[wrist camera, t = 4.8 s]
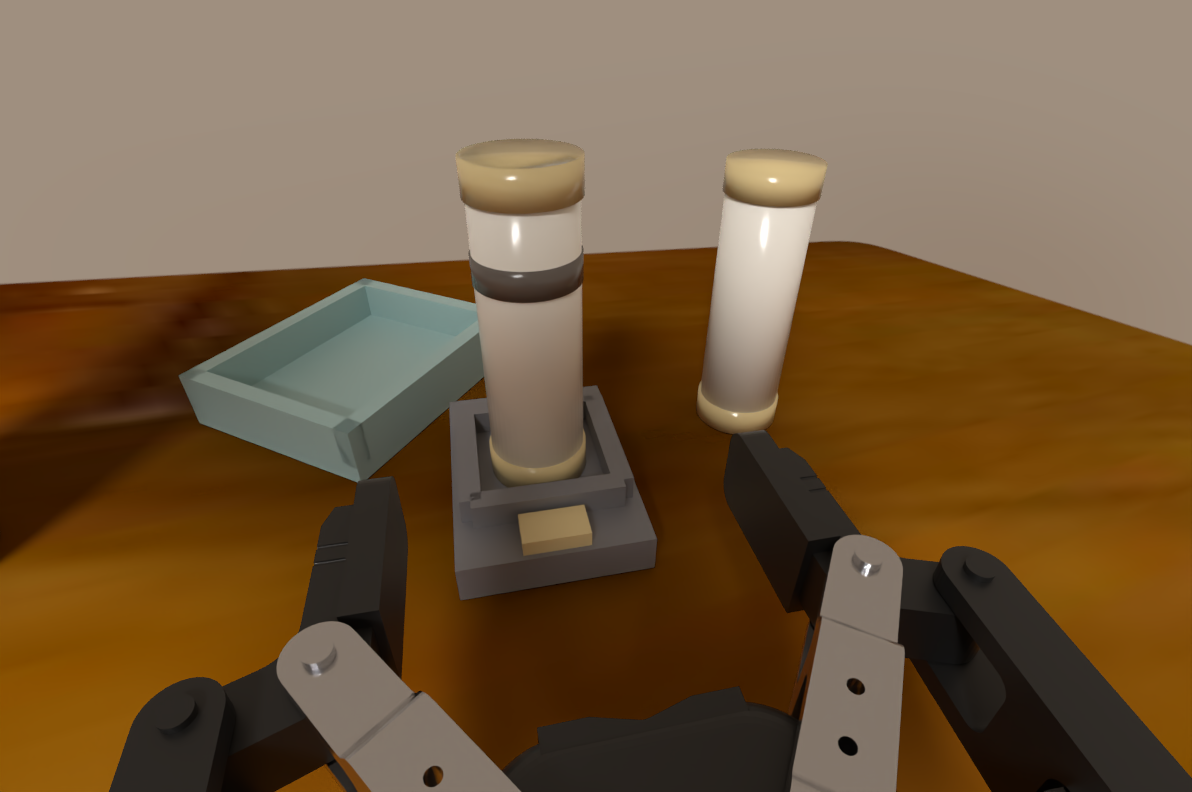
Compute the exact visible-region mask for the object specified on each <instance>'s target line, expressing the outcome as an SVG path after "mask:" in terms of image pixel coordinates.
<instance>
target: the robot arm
mask: <svg viewBox="0 0 1192 792" xmlns="http://www.w3.org/2000/svg"><path fill="white" fill-rule="evenodd" d="M724 492H725V497H726V500H727V503H728V505H729V507H730V509H731V511H732V513H733V515H734V516H735V518H736V520H737V522H738V524H739V526H740V527H741V529H742V531H743V533H744V535H745V537H746V539H747V540H748V542H749V544H750V546H751V548H752V550H753V551H754V553H755V555H756V557H757V559H758V561H759V563H760V564H761V566H762V568H763V570H764V572H765V574H766V575H767V577H768V579H769V581H770V583H771V585H772V587H773V588H774V590H775V592H776V594H777V596H778V598H779V599H780V601H781V603H782V605H783V607H784V609H785V611H786V612H787V613H790V612H795V611H801V610H805V612H806V614H807V615H808V617H809V622H808V625H807V629H806V633H805V638H804V643H803V647H802V652H801V656H800V661H799V666H798V670H797V675H796V679H795V684H794V689H793V693H792V697H791V701H790V705H789V708H788V712H787V713H784V712H782V711H780V710H778V709H775V708H772V707H769V706H766V705H762V704H756V703H751V702H745V700H744V697H743V695H742V692H741V690H740V688H739V686H737V687H733V688H728V689H723V690H718V691H713V692H708V693H703V694H699V695H694V696H690V697H689V698H687V699H685V700H683V701H681V702H679V703H677V704H675V705H673V706H671V707H669V708H667V709H666V710H664V711H662V712H660V713H658V714H656V715H654V716H652V717H650V718H648V719H644V720H632V719H615V718H598V717H587V718H582V719H577V720H572V721H567V722H562V723H557V724H553V725H548V726H543V727H538V728H537V731H538V743H539V744H537V745H535V746H533V747H531V748H529V749H528V750H526V751H525V752H523V753H522V754H520V755H519V756H517V757H516V758H515V759H514V760H513V761H511V762H510V763H509V764H508V765H507V766H506V767H505V768H504V769H503V770H502V771H501V770H500V769H499V768H498V767H497V766H496V765H495V764H494V763H493V762H492V761H491V760H490V759H489V758H488V757H487V756H486V754H485V753H484V752H483V751H482V750H481V749H480V748H479V747H478V746H477V745H476V744H475V743H474V742H473V741H472V740H471V739H470V738H469V737H468V736H467V735H466V734H465V733H464V732H463V731H462V729H461V728H460V727H459V726H458V725H457V724H456V723H455V722H454V721H453V720H452V719H451V718H450V717H449V716H448V715H447V714H446V713H445V712H444V711H443V710H442V709H441V708H440V707H439V706H438V705H437V703H436V702H435V701H434V700H433V699H432V698H430V697H429V696H428V695H427V694H426V693H424V692H422V691H419V692H417V693H414V692H413V691H412V690H410V689H409V688H408V687H407V686H406V684H405V683H404V682H403V681H402V680H401V676H402V656H403V636H404V616H405V596H406V576H407V556H408V542H407V531H406V525H405V520H404V516H403V512H402V508H401V503H400V499H399V495H398V491H397V486H396V482H395V479H394V477H393V476H391V477H383V478H375V479H367V480H360V481H358V483H357V487H356V493H355V500H354V505H349V506H341V507H335V508H334V509H333V511H332V512H331V514H330V515H329V516H328V518H327V519H326V520H325V522H324V523H323V525H322V526H321V530H320V535H319V540H318V544H317V548H318V549H317V550H316V554H315V559H314V566H313V569H312V573H311V578H310V583H309V588H308V593H307V598H306V602H305V607H304V612H303V617H302V622H301V626H300V629H299V632H298V634H297V635H295V636H294V637H293V638H292V639H291V640H290V641H289V642H288V643H287V644H286V646H285V647H284V648H283V650H282V652H281V653H280V656H279V658H277V659H276V660H275V661H274V662H272V663H270V664H269V665H267V666H266V667H264V668H262V669H260V670H258V671H256V672H253V673H251V674H249V675H247V676H245V677H242V678H240V679H238V680H236V681H233V682H231V683H229V684H227V685H225V686H221V685H220V684H219V683H218V682H217V681H215V680H213V679H210V678H205V677H195V678H189V679H186V680H182V681H179V682H177V683H175V684H172V685H171V686H169V687H167V688H165V689H164V690H162V691H161V692H159V693H158V694H157V695H155V696H154V697H153V698H152V699H151V700H150V701H149V702H148V703H147V704H146V705H145V706H144V707H143V708H142V709H141V711H140V712H139V713H138V715H137V716H136V718H135V720H134V721H133V724H132V726H131V728H130V731H129V734H128V737H127V740H126V743H125V746H124V749H123V752H122V755H121V758H120V761H119V764H118V767H117V770H116V773H115V776H114V779H113V782H112V784H111V787H110V790H109V792H275V791H276V790H278V789H280V788H282V787H284V786H286V785H288V784H290V783H291V782H293V781H295V780H297V779H299V778H301V777H303V776H305V775H306V774H308V773H310V772H312V771H314V770H316V769H318V768H319V767H321V766H323V765H324V766H325V768H326V769H327V770H328V772H329V773H330V774H331V776H332V777H333V778H334V780H335V781H336V782H337V784H338V785H339V786H340V788H341V789H342V790H343V792H896V781H897V766H898V750H899V735H900V720H901V704H902V689H903V673H904V658H910V660H911V662H912V663H913V665H914V667H915V668H916V670H917V671H918V673H919V675H920V676H921V678H922V680H923V681H924V683H925V684H926V686H927V688H928V689H929V691H930V693H931V694H932V696H933V697H934V699H935V701H936V702H937V704H938V706H939V707H940V709H941V710H942V712H943V714H944V715H945V717H946V719H947V720H948V722H949V723H950V725H951V727H952V728H953V730H954V732H955V733H956V735H957V736H958V738H959V740H960V741H961V743H962V745H963V746H964V748H965V749H966V751H967V753H968V754H969V756H970V758H971V759H972V761H973V762H974V764H975V766H976V767H977V769H978V771H979V772H980V774H981V775H982V777H983V779H984V780H985V782H986V784H987V785H988V787H989V788H990V790H991V792H1192V778H1191V777H1190V776H1189V775H1188V773H1187V772H1186V771H1185V770H1184V769H1183V768H1182V766H1181V765H1180V764H1179V763H1178V762H1177V761H1176V760H1175V758H1174V757H1173V756H1172V755H1171V754H1170V753H1169V752H1168V750H1167V749H1166V748H1165V747H1164V746H1163V745H1162V744H1161V742H1160V741H1159V740H1158V739H1157V738H1156V737H1155V736H1154V734H1153V733H1152V732H1151V731H1150V730H1149V729H1148V728H1147V726H1146V725H1145V724H1144V723H1143V722H1142V721H1141V720H1140V718H1139V717H1138V716H1137V715H1136V714H1135V713H1134V712H1133V710H1132V709H1131V708H1130V707H1129V706H1128V705H1127V704H1126V702H1125V701H1124V700H1123V699H1122V698H1121V697H1120V695H1119V694H1118V693H1117V692H1116V691H1115V690H1114V689H1113V687H1112V686H1111V685H1110V684H1109V683H1108V682H1107V681H1106V679H1105V678H1104V677H1103V676H1102V675H1101V674H1100V673H1099V671H1098V670H1097V669H1096V668H1095V667H1094V666H1093V665H1092V663H1091V662H1090V661H1089V660H1088V659H1087V658H1086V657H1085V655H1084V654H1083V653H1082V652H1081V651H1080V650H1079V649H1078V647H1077V646H1076V645H1075V644H1074V643H1073V642H1072V641H1071V639H1070V638H1069V637H1068V636H1067V635H1066V634H1065V632H1064V631H1063V630H1062V629H1061V628H1060V627H1059V626H1058V624H1057V623H1056V622H1055V621H1054V620H1053V619H1052V618H1051V616H1050V615H1049V614H1048V613H1047V612H1046V611H1045V610H1044V608H1043V607H1042V606H1041V605H1040V604H1039V603H1038V602H1037V600H1036V599H1035V598H1034V597H1033V596H1032V595H1031V594H1030V592H1029V591H1028V590H1027V589H1026V588H1025V587H1024V586H1023V584H1022V583H1021V582H1020V581H1019V580H1018V579H1017V578H1016V576H1015V575H1014V574H1013V573H1012V572H1011V571H1010V570H1009V568H1008V567H1007V566H1006V565H1005V564H1004V563H1002V562H1001V561H1000V560H999V559H997V558H996V557H994V556H993V555H991V554H989V553H987V552H985V551H982V550H979V549H976V548H972V547H966V546H957V547H952V548H950V549H948V550H946V551H945V552H944V553H943V555H942V557H941V559H940V561H939V562H932V561H923V560H914V559H906V558H900V557H898V555H897V554H896V553H895V552H894V551H893V550H892V549H891V548H890V547H889V546H887V545H886V544H884V543H883V542H881V541H879V540H877V539H874V538H872V537H868V536H864V535H861V534H860V533H859V531H858V530H857V529H856V527H855V526H854V525H853V523H852V522H851V521H850V519H849V518H848V517H847V515H846V514H845V513H844V511H843V510H842V509H841V507H840V506H839V505H838V503H837V502H836V500H835V499H834V498H833V496H832V495H831V494H830V492H829V491H826V487H825V486H824V484H823V483H822V482H821V480H820V479H819V478H817V475H816V474H815V472H814V471H813V470H812V468H811V467H810V466H809V464H808V463H807V462H806V460H805V459H803V458H802V457H800V456H799V455H797V454H796V453H794V452H793V451H792V450H790V449H789V448H781V449H779V448H778V446H777V445H776V444H775V442H774V441H773V439H772V438H771V437H770V435H769V434H768V433H767V432H766V431H765V430H758V431H750V432H742V433H735V434H733V436H732V438H731V441H730V447H729V453H728V459H727V464H726V470H725V476H724Z"/></svg>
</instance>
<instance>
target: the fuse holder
mask: <svg viewBox="0 0 1192 792" xmlns="http://www.w3.org/2000/svg"><path fill="white" fill-rule="evenodd" d="M449 407H450V437H451V467H452V497H453V526H454V556H455V574H456V580H457V585H458V590H459V596H460V600H465V599H471V598H477V597H483V596H489V595H495V594H501V593H506V592H512V591H518V590H524V589H530V588H536V587H542V586H548V585H554V584H560V583H565V582H571V581H577V580H583V579H589V578H595V577H601V576H607V575H613V574H619V573H624V572H630V571H636V570H642V569H648V568H654V567H655V558H656V547H657V537H656V535H655V532H654V530H653V527H652V524H651V522H650V519H649V517H648V514H647V512H646V509H645V507H644V504H643V501H642V499H641V496H640V494H639V491H638V489H637V486H636V484H635V481H634V477H633V474H632V471H631V469H630V466H629V464H628V461H627V459H626V456H625V454H624V451H623V449H622V446H621V443H620V441H619V438H618V436H617V433H616V431H615V428H614V426H613V423H612V420H611V418H610V415H609V413H608V410H607V408H606V405H605V403H604V400H603V398H602V395H601V394H600V392H599V389H598V386H597V385H596V386H587V387H583V429H584V432H585V435H586V464H585V468H584V471H583V472H582V474H581V475H580V477H579V478H575V479H568V480H560V481H553V482H546V483H539V484H532V485H525V486H517V487H510V488H508V487H506V486H505V485H503V484H502V483H501V482H500V481H499V480H498V479H497V478H496V476H495V475H494V472H493V469H492V461H491V453H490V443H489V440H490V436H491V430H490V421H489V413H488V404H487V398H481V399H472V400H464V401H455V402H449Z"/></svg>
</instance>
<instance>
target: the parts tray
mask: <svg viewBox="0 0 1192 792" xmlns="http://www.w3.org/2000/svg"><path fill="white" fill-rule="evenodd" d="M178 376H179V378H180V380H181V383H182V385H183V387H184V389H185V392H186V394H187V396H188V398H189V401H190V403H191V405H192V407H193V409H194V412H195V414H196V416H197V418H198V421H199V423H201V424H204V425H206V426H209V427H212V428H214V429H217V430H220V431H222V432H225V433H227V434H230V435H233V436H235V437H238V438H241V439H243V440H246V441H249V442H251V443H254V444H257V445H259V446H262V447H265V448H267V449H270V450H273V451H275V452H278V453H281V454H283V455H286V456H289V457H291V458H294V459H297V460H299V461H302V462H305V463H307V464H310V465H312V466H315V467H318V468H320V469H323V470H326V471H328V472H331V473H334V474H336V475H339V476H342V477H344V478H347V479H350V480H352V481H355V482H358V481H360V480H367V479H368V478H369V477H370V476H371V475H372V474H374V473H375V472H376V471H377V470H378V469H379V468H380V467H381V466H383V465H384V464H385V463H386V462H387V461H388V460H389V459H391V458H392V457H393V456H394V455H395V454H396V453H397V452H399V451H400V450H401V449H402V448H403V447H404V446H405V445H407V444H408V443H409V442H410V441H411V440H412V439H413V438H415V437H416V436H417V435H418V434H419V433H420V432H421V431H423V430H424V429H425V428H426V427H427V426H428V425H429V424H430V423H432V422H433V421H434V420H435V419H436V418H437V417H438V416H440V415H441V414H442V413H443V412H444V411H445V410H446V409H448V408H449V402H455V401H457V400H458V399H459V398H460V397H461V396H462V395H464V394H465V393H466V392H467V391H468V390H469V389H470V388H472V387H473V386H474V385H475V384H476V383H477V382H478V381H479V380H481V379H482V378H483V377H484V369H483V360H482V352H481V343H480V334H479V326H478V317H477V308H476V304H474V303H470V302H465V301H461V300H457V299H452V298H448V297H444V296H439V295H435V294H431V293H426V292H422V291H417V290H413V289H409V288H404V287H400V286H396V285H391V284H387V283H382V282H378V281H374V280H369V279H365V278H363V279H361V280H359V281H358V282H356V283H354V284H352V285H350V286H348V287H346V288H344V289H342V290H340V291H338V292H337V293H335V294H333V295H331V296H329V297H327V298H325V299H323V300H321V301H319V302H317V303H316V304H314V305H312V306H310V307H308V308H306V309H304V310H302V311H300V312H298V313H297V314H295V315H293V316H291V317H289V318H287V319H285V320H283V321H281V322H279V323H277V324H276V325H274V326H272V327H270V328H268V329H266V330H264V331H262V332H260V333H258V334H257V335H255V336H253V337H251V338H249V339H247V340H245V341H243V342H241V343H239V344H237V345H236V346H234V347H232V348H230V349H228V350H226V351H224V352H222V353H220V354H218V355H217V356H215V357H213V358H211V359H209V360H207V361H205V362H203V363H201V364H199V365H197V366H196V367H194V368H192V369H190V370H188V371H186V372H184V373H182V374H180V375H178Z"/></svg>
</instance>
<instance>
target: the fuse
mask: <svg viewBox="0 0 1192 792" xmlns="http://www.w3.org/2000/svg"><path fill="white" fill-rule="evenodd" d="M826 169H827V162H826V161H825V160H823V159H822V158H819V157H817V156H814V155H810V154H807V153H802V152H797V151H789V150H780V149H749V150H742V151H736V152H733V153H731V154H729V155H728V156H727V158H726V166H725V175H724V183H723V191H724V193H725V196H724V203H723V211H722V219H721V228H720V235H719V244H718V252H717V260H716V268H715V276H714V284H713V292H712V300H711V308H710V316H709V324H708V332H707V341H706V349H705V357H704V365H703V373H702V380H701V382H700V384H699V388H698V397H697V405H696V411H697V414H698V416H699V417H700V419H701V420H702V421H703V422H704V423H706V424H707V425H708V426H710V427H712V428H714V429H716V430H718V431H721V432H724V433H729V434H735V433H742V432H750V431H758V430H765V429H767V428H768V427H769V426H770V425H771V424H772V422H773V419H774V415H775V410H776V405H777V401H778V393H777V390H778V385H779V381H780V376H781V371H782V366H783V361H784V357H785V352H786V347H787V342H788V338H789V333H790V328H791V323H792V319H793V314H794V309H795V304H796V299H797V295H798V290H799V285H800V280H801V276H802V271H803V266H804V261H805V256H806V252H807V247H808V242H809V237H810V233H811V228H812V223H813V218H814V213H815V208H816V204H817V201H818V200H819V199H820V197H821V193H822V188H823V183H824V179H825V174H826Z"/></svg>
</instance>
